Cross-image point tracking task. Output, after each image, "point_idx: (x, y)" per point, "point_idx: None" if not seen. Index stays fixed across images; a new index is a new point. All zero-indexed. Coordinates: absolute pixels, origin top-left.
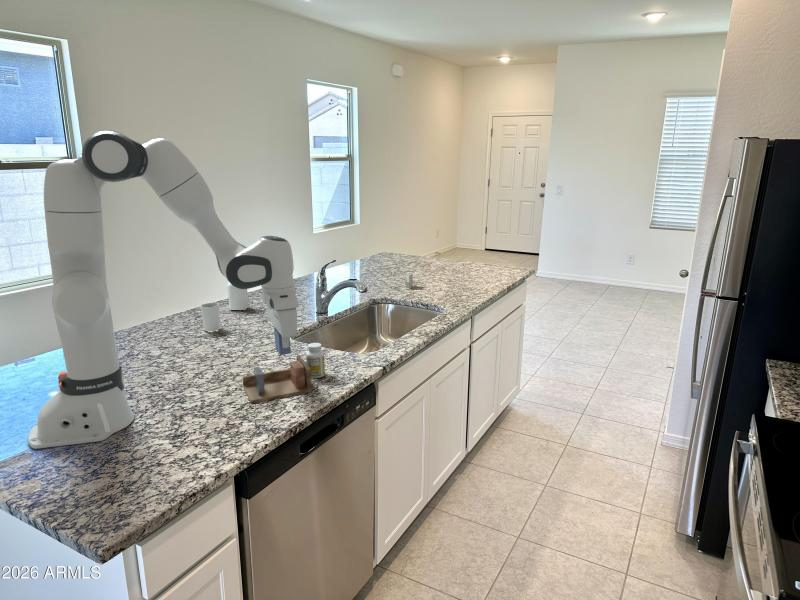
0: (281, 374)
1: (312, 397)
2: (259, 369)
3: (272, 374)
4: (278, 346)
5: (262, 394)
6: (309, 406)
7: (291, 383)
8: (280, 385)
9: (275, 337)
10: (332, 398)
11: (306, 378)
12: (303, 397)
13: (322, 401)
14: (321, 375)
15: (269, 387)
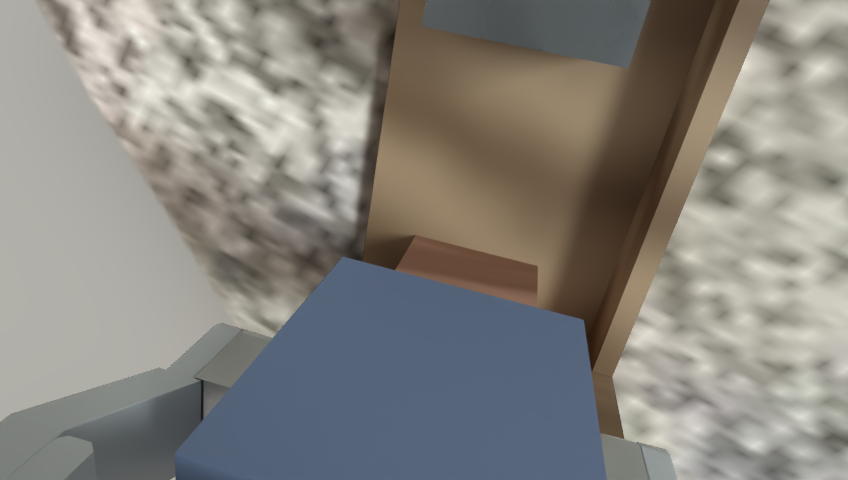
0: (628, 253)
1: (295, 253)
2: (554, 39)
3: (656, 195)
4: (366, 319)
5: None
6: (205, 187)
7: (502, 249)
8: (521, 180)
9: (524, 427)
10: (237, 317)
11: None
12: (320, 217)
13: (228, 265)
14: None
15: (542, 103)
